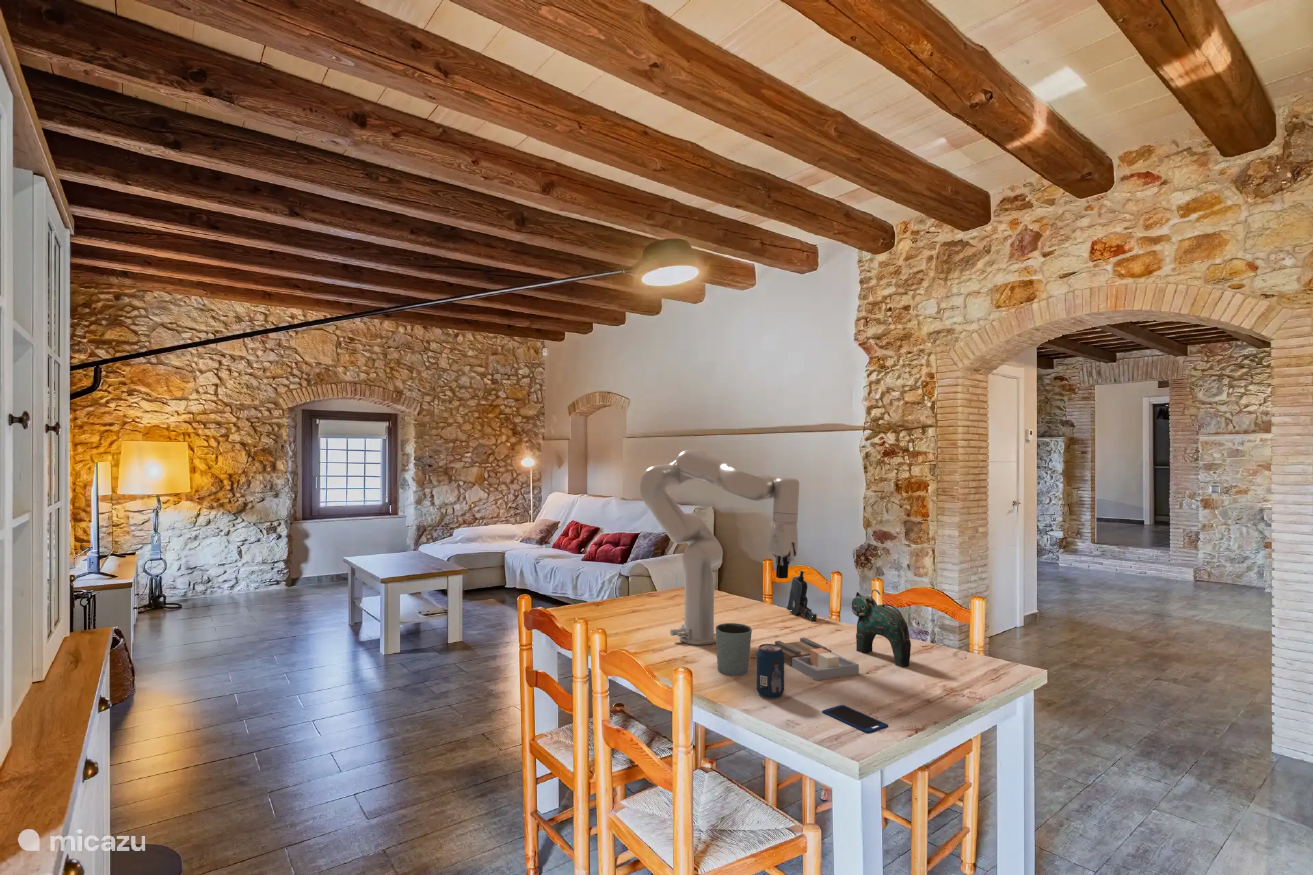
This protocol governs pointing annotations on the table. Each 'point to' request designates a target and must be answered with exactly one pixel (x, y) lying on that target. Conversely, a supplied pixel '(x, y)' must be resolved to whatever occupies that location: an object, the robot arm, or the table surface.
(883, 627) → the ceramic cat
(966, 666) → the table surface
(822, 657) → the cream block
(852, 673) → the tray
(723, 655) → the green cup
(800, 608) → the gun
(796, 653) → the slot board
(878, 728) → the cell phone
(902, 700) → the table surface
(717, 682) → the table surface
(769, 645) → the soda can
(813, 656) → the terracotta block
